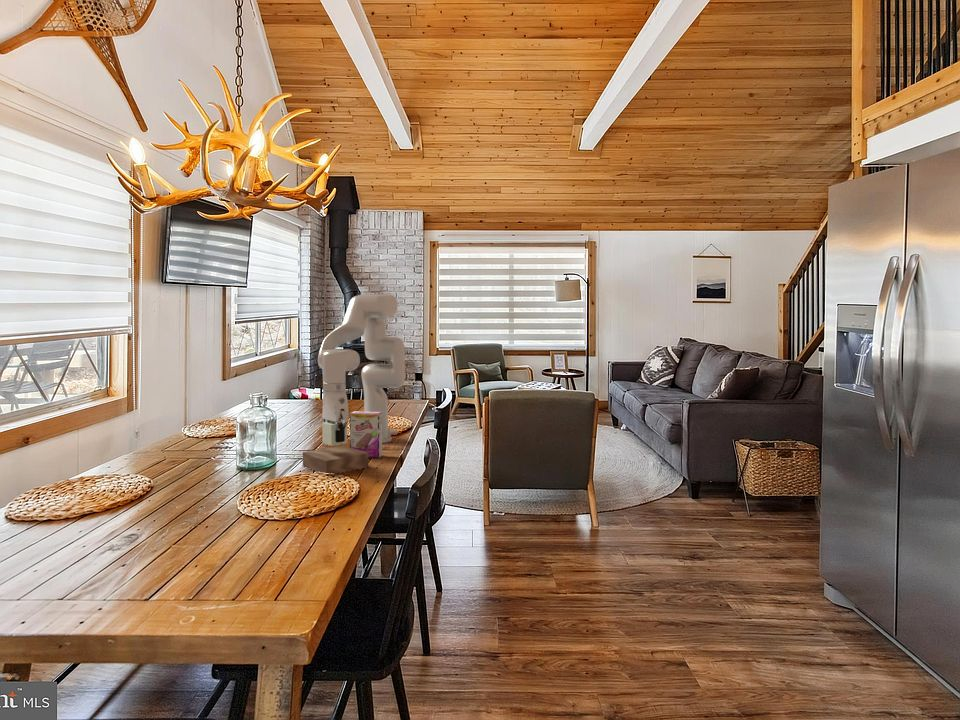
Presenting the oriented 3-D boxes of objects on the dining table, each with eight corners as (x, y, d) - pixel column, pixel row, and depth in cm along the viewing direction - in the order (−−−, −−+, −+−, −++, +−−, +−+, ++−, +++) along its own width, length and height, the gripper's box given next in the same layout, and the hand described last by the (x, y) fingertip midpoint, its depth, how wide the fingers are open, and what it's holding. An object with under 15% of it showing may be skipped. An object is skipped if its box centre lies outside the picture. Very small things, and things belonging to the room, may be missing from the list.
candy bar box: (349, 457, 230) (348, 413, 228) (353, 454, 235) (353, 410, 233) (379, 458, 229) (379, 413, 227) (383, 455, 234) (382, 411, 232)
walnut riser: (343, 459, 227) (343, 445, 227) (368, 467, 216) (368, 453, 215) (302, 466, 216) (302, 452, 216) (326, 476, 205) (326, 460, 204)
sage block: (338, 440, 219) (337, 420, 219) (347, 443, 215) (346, 422, 214) (322, 442, 215) (322, 422, 215) (331, 445, 211) (331, 425, 210)
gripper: (357, 389, 210) (358, 442, 211) (331, 384, 222) (331, 435, 224) (337, 391, 205) (338, 445, 206) (311, 386, 217) (312, 437, 219)
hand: (334, 439), depth 215 cm, fingers closed on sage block, 6 cm apart
